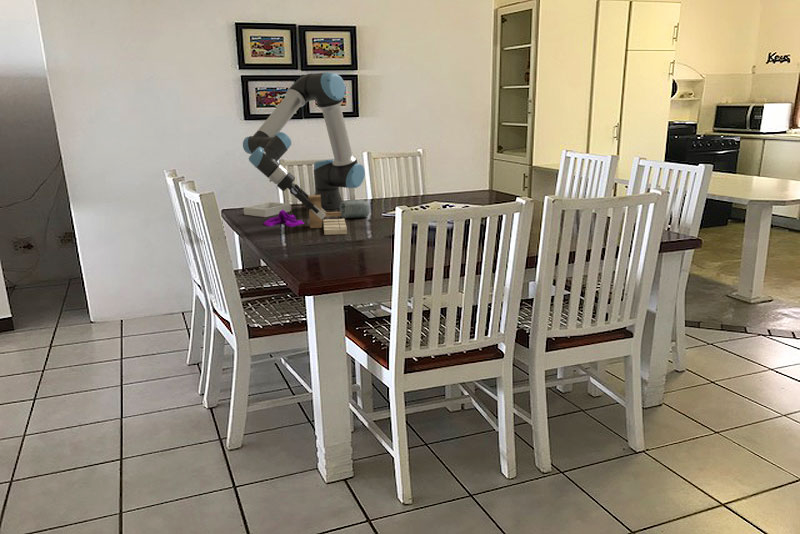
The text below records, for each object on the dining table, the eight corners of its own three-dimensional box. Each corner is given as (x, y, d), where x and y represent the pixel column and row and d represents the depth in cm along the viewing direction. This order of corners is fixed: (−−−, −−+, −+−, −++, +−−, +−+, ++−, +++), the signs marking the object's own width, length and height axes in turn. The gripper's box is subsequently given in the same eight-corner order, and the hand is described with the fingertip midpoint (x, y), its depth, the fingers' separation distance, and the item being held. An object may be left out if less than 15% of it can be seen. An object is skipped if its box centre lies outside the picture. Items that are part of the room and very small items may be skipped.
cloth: (303, 227, 267) (302, 213, 265) (259, 228, 266) (258, 214, 264) (308, 217, 288) (308, 204, 286) (268, 218, 287) (267, 205, 286)
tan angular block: (310, 225, 268) (308, 195, 264) (340, 224, 269) (339, 194, 266) (310, 228, 263) (308, 197, 259) (341, 226, 265) (339, 195, 261)
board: (323, 224, 270) (323, 219, 270) (344, 223, 271) (344, 218, 271) (324, 234, 249) (324, 229, 249) (347, 233, 250) (346, 228, 250)
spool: (337, 213, 276) (342, 192, 278) (337, 219, 285) (341, 199, 288) (368, 220, 277) (372, 199, 279) (366, 226, 286) (370, 205, 289)
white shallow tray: (270, 208, 310) (269, 201, 309) (291, 211, 302) (290, 204, 301) (244, 214, 296) (243, 207, 295) (265, 217, 288) (264, 209, 287)
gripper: (277, 181, 269) (317, 217, 275) (274, 188, 249) (318, 226, 256) (289, 169, 268) (329, 205, 274) (287, 174, 249) (330, 213, 255)
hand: (323, 215), depth 265 cm, fingers open, 7 cm apart
